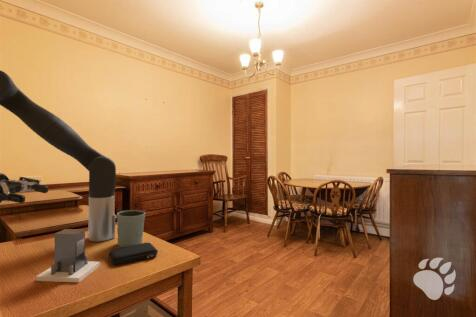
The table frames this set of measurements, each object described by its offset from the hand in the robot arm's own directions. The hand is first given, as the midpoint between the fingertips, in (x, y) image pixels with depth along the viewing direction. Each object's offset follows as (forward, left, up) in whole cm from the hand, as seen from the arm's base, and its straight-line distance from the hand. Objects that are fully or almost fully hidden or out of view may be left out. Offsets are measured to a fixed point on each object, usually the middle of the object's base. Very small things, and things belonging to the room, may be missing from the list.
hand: (36, 194), depth 75 cm
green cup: (-28, -7, -23) cm, 37 cm away
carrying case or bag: (-27, +7, -23) cm, 36 cm away
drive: (-9, +9, -21) cm, 24 cm away
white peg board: (-9, +9, -22) cm, 25 cm away
